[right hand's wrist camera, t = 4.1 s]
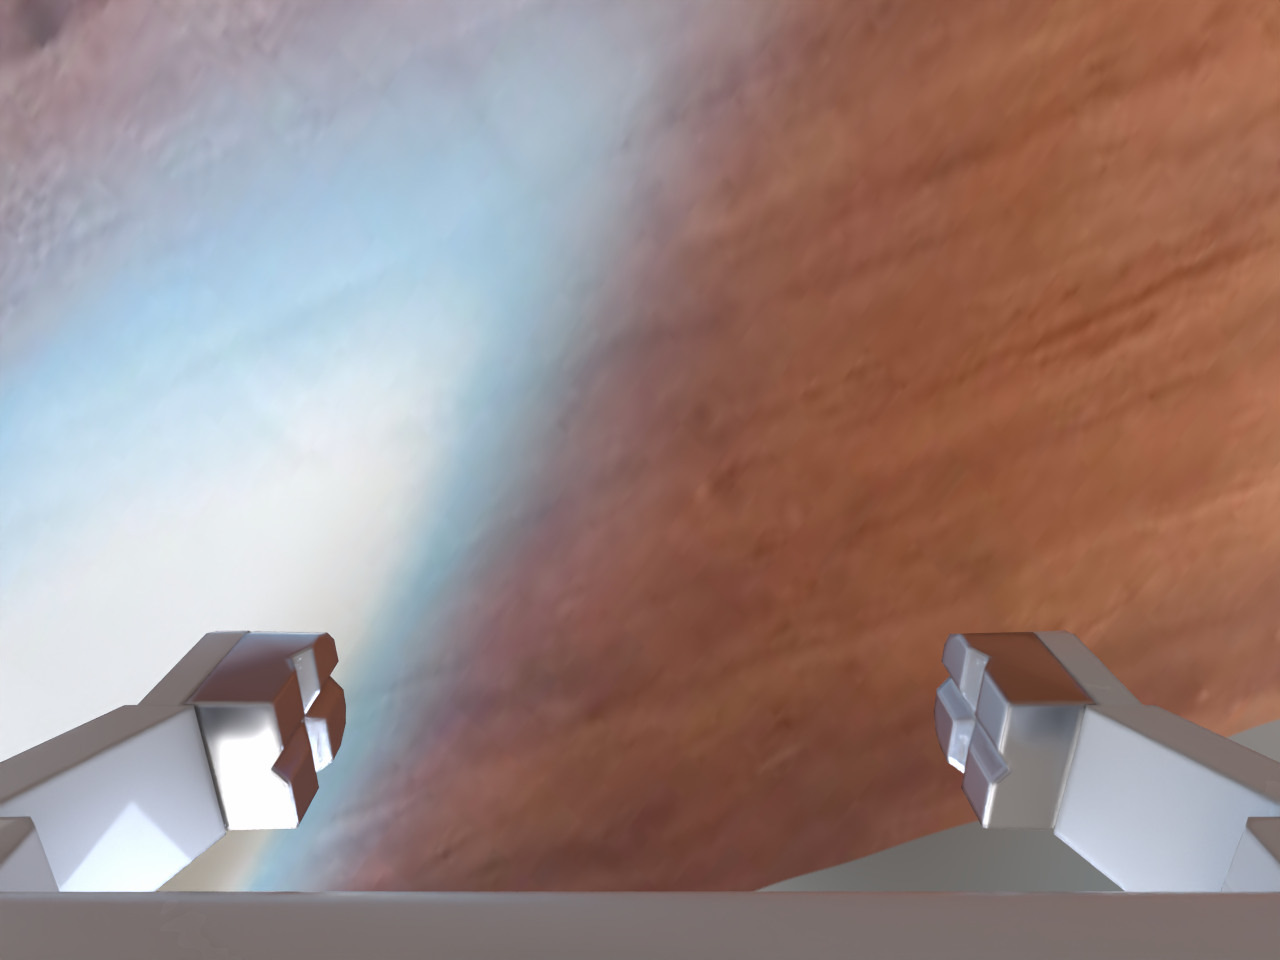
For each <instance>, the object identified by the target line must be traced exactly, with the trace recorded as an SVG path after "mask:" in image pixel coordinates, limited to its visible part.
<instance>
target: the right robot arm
mask: <svg viewBox="0 0 1280 960" xmlns="http://www.w3.org/2000/svg"><path fill="white" fill-rule="evenodd" d="M337 663H338V656H337V652H336V647H335V642H334V639H333V638H332V637H331V636H330V635H329V634H328V633H319V632H269V631H253V632H250V631H215V632H211V633H207V634H206V635H205V636H204V637H203V638H202V639H201V640H200V641H199V642H198V643H197V644H196V645H195V646H194V647H193V648H192V649H191V650H190V651H189V652H188V653H187V654H186V655H185V656H184V657H183V658H182V659H181V660H180V661H179V662H178V663H177V664H176V666H175V667H174V668H173V669H172V670H171V671H170V672H169V673H168V674H167V675H166V676H165V677H164V678H163V679H162V680H161V681H160V682H159V683H158V684H157V685H156V686H155V687H154V688H153V689H152V690H151V691H150V692H149V693H148V694H147V696H146V697H145V698H144V699H143V700H142V701H141V702H140V703H139V704H138V705H124V706H122V707H120V708H117V709H115V710H113V711H111V712H109V713H107V714H104V715H102V716H100V717H98V718H96V719H94V720H91V721H89V722H87V723H85V724H83V725H81V726H78V727H76V728H74V729H72V730H70V731H68V732H65V733H63V734H61V735H59V736H57V737H55V738H52V739H50V740H48V741H46V742H44V743H42V744H39V745H37V746H35V747H33V748H31V749H29V750H26V751H24V752H22V753H20V754H18V755H16V756H13V757H11V758H9V759H7V760H5V761H3V762H0V960H1280V763H1279V762H1277V761H1275V760H1273V759H1271V758H1268V757H1266V756H1264V755H1262V754H1260V753H1258V752H1255V751H1253V750H1251V749H1249V748H1247V747H1245V746H1242V745H1240V744H1238V743H1236V742H1234V741H1232V740H1229V739H1227V738H1225V737H1223V736H1221V735H1219V734H1217V733H1214V732H1212V731H1210V730H1208V729H1206V728H1204V727H1201V726H1199V725H1197V724H1195V723H1193V722H1191V721H1188V720H1186V719H1184V718H1182V717H1180V716H1178V715H1176V714H1173V713H1171V712H1169V711H1167V710H1165V709H1163V708H1160V707H1158V706H1156V705H1142V704H1141V703H1140V702H1139V701H1138V700H1137V699H1136V698H1135V696H1134V695H1133V694H1132V693H1131V692H1130V691H1129V690H1128V689H1127V688H1126V687H1125V686H1124V685H1123V684H1122V683H1121V682H1120V681H1119V680H1118V679H1117V678H1116V677H1115V676H1114V675H1113V674H1112V673H1111V672H1110V671H1109V670H1108V668H1107V667H1106V666H1105V665H1104V664H1103V663H1102V662H1101V661H1100V660H1099V659H1098V658H1097V657H1096V656H1095V655H1094V654H1093V653H1092V652H1091V651H1090V650H1089V649H1088V648H1087V647H1086V646H1085V645H1084V644H1083V643H1082V642H1081V641H1080V639H1079V638H1078V637H1077V636H1076V635H1075V634H1072V633H1070V632H1067V631H1065V630H1061V631H1035V632H1009V633H969V634H949V636H948V639H947V641H946V643H945V645H944V650H943V656H942V663H943V664H944V666H945V668H946V669H947V671H948V673H949V674H950V677H949V678H948V679H947V680H946V681H945V682H944V683H943V684H942V685H941V686H940V687H939V688H938V689H937V691H936V699H935V707H934V717H935V729H936V734H937V738H938V741H939V744H940V748H941V750H942V752H943V754H944V756H945V758H946V760H947V762H948V763H950V764H951V765H953V766H954V767H956V768H957V769H959V770H960V771H962V772H963V773H964V775H963V781H962V786H961V788H962V790H963V792H964V794H965V796H966V797H967V799H968V801H969V803H970V805H971V807H972V809H973V810H974V812H975V814H976V816H977V818H978V820H979V822H980V823H981V825H982V827H983V828H985V829H1021V830H1055V831H1054V834H1055V835H1056V836H1057V837H1059V838H1060V839H1061V840H1062V841H1064V842H1065V843H1066V844H1067V845H1069V846H1070V847H1071V848H1072V849H1074V850H1075V851H1076V852H1077V853H1079V854H1080V855H1081V856H1082V857H1084V858H1085V859H1086V860H1087V861H1089V862H1090V863H1091V864H1092V865H1094V866H1095V867H1096V868H1097V869H1098V870H1100V871H1101V872H1102V873H1103V874H1105V875H1106V876H1107V877H1108V878H1110V879H1111V880H1112V881H1113V882H1115V883H1116V884H1117V885H1118V886H1120V887H1121V888H1122V889H1123V890H1125V891H1126V892H154V891H156V890H157V889H158V888H159V887H161V886H162V885H163V884H164V883H166V882H167V881H168V880H169V879H171V878H172V877H173V876H174V875H176V874H177V873H178V872H179V871H181V870H182V869H183V868H184V867H186V866H187V865H188V864H189V863H191V862H192V861H193V860H194V859H196V858H197V857H198V856H199V855H201V854H202V853H203V852H204V851H206V850H207V849H208V848H209V847H211V846H212V845H213V844H214V843H216V842H217V841H218V840H219V839H221V838H222V837H223V836H224V835H225V834H226V831H225V830H258V829H293V828H297V827H298V826H299V824H300V822H301V820H302V818H303V816H304V814H305V812H306V811H307V809H308V807H309V805H310V803H311V801H312V799H313V798H314V796H315V794H316V792H317V790H318V788H319V786H318V781H317V775H316V773H317V772H318V771H320V770H321V769H323V768H324V767H326V766H327V765H329V764H330V763H332V762H333V760H334V758H335V756H336V754H337V752H338V750H339V748H340V746H341V741H342V737H343V732H344V728H345V724H346V704H345V698H344V691H343V689H342V688H341V687H340V686H339V685H338V684H337V683H336V682H335V681H334V680H333V679H332V678H331V677H330V674H331V673H332V671H333V669H334V668H335V666H336V664H337Z"/></svg>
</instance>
